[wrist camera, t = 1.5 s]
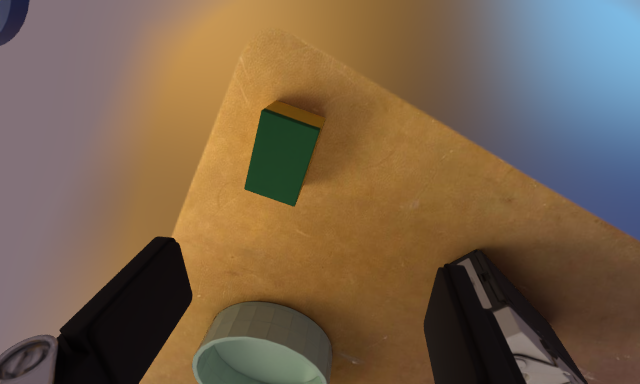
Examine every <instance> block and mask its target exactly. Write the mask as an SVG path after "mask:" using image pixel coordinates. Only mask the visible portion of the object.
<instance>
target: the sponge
mask: <svg viewBox="0 0 640 384" xmlns="http://www.w3.org/2000/svg"><path fill="white" fill-rule="evenodd" d="M324 122H325V118H324V117H321V116H318V115H316V114H313V113H310V112H307V111H304V110H302V109H299V108H296V107H293V106H291V105H288V104H285V103H282V102H279V101H277V100H276V101H274V102H273V103H272V104H270V105H269V106H267V107H266V108H265V109H263V110H262V111H261V116H260V120H259V125H258V129H257V134H256V138H255V143H254V147H253V152H252V156H251V161H250V165H249V170H248V175H247V179H246V184H245V188H244V189H245V190H248V191H251V192H253V193H256V194H259V195H262V196H265V197H268V198H271V199H274V200H276V201H279V202H282V203H285V204H288V205H291V206H295V204H296V202H297V199H298V197H299V195H300V192H301V190H302V187H303V184H304V181H305V178H306V175H307V172H308V170H309V167H310V164H311V161H312V158H313V155H314V152H315V149H316V146H317V143H318V140H319V137H320V134H321V131H322V128H323V125H324Z"/></svg>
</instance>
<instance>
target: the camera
mask: <svg viewBox="0 0 640 384" xmlns="http://www.w3.org/2000/svg"><path fill="white" fill-rule="evenodd" d="M451 264H455V265H463V266H465V268H466V270H467V272H468V275H469V277H470V279H471V282H472V284H473V286H474V288H475V291H476V293H477V295H478V297H479V300H480V302H481V304H482V306H483V308H486V309H490V310H491V311H492V312H493V314H494V315H495V317H496V319H497V322H498V324H499V326H500V328H501V330H502V332H503V334H504V336H505V339H506V341H507V343H508V345H509V347H510V349H511V351H512V353H513V356H514V358H515V360H516V362H517V364H518V366H519V368H520V370H521V373H522V375H523V377H524V379H525V381H526V383H527V384H588V383H587V381H586V380H585V379H584V377H583V375H582V374H581V372H580V371H579V369H578V368H577V366H576V365H575V363H574V361H573V360H572V358H571V357H570V355H569V354H568V352H567V351H566V349H565V347H564V346H563V344H562V343H561V341H560V340H559V338H558V337H557V335H556V333H555V332H554V330H553V329H552V327H551V326H550V325H549V324H548V322H547V321H546V320H545V319H544V318H543V317H542V316H541V315H540V314H539V313H538V312H537V311H536V309H535V308H534V307H533V306H532V305H531V304H530V303H529V302H528V301H527V300H526V299H525V298H524V296H523V295H522V294H521V293H520V292H519V291H518V290H517V289H516V288H515V287H514V285H513V284H512V283H511V282H510V281H509V280H508V279H507V278H506V277H505V276H504V275H503V274H502V273H501V271H500V270H499V269H498V268H497V267H496V266H495V265H494V264H493V263H492V262H491V261H490V260H489V259H488V257H487V256H486V255H485V254H484V253H483V252H482V251H481V250H479V251H478V250H474V251H472V252H471V253H469V254H467V255H465V256H463V257H461V258H460V259H458V260H456V261H454V262H453V263H451Z"/></svg>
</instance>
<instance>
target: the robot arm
mask: <svg viewBox="0 0 640 384" xmlns="http://www.w3.org/2000/svg"><path fill="white" fill-rule="evenodd" d="M191 301H192V290H191V287H190V283H189V279H188V275H187V271H186V267H185V264H184V260H183V256H182V252H181V248H180V245H179V243H178V242H176V240H175V239H174V238H169V237H155V238H154V239H153V240H152V241H151V242H150V243H149V244H148V245H147V246H146V247H145V248H144V249H143V250H142V251H140V252H139V253H138V254H137V255H136V257H134V258H133V259H132V260H131V261H130V262H129V263H128V264H127V265H126V266H125V267H124V268H123V269H122V270H121V271H120V272H119V273H118V274H117V275H116V276H115V277H114V278H113V279H112V280H110V282H108V283H107V285H106V286H104V287H103V288H102V289H101V290H100V291H99V292H98V293H97V294H96V295H95V296H94V297H93V298H92V299H91V300H90V301H89V302H88V303H87V304H86V305H85V306H84V307H83V308H82V309H81V310H80V311H79V312H77V313H76V314H75V315H74V316H73V317H72V318H71V319H70V320H69V321H68V322H67V323H66V324H65V325H64V326H63V327H62V328H61V329H60V332H61V334H60V335H59V337H57V338H55V337H53V336H51V335H38V336H34V337H31V338H28V339H25V340H23V341H21V342H19V343H17V344H16V345H14V346H12V347H10V348H9V349H7V350H6V351H5V352H4V353H2V354H1V355H0V384H139V382H140V381H141V379H142V378H143V376H144V375H145V373H146V371H147V370H148V368H149V367H150V365H151V364H152V362H153V361H154V359H155V358H156V356H157V354H158V353H159V351H160V350H161V348H162V347H163V345H164V344H165V342H166V340H167V339H168V337H169V336H170V334H171V333H172V331H173V330H174V328H175V327H176V325H177V323H178V322H179V320H180V319H181V317H182V316H183V314H184V313H185V311H186V310H187V308H188V306H189V305H190V303H191ZM424 333H425V337H426V342H427V347H428V352H429V357H430V362H431V366H432V371H433V376H434V381H435V384H527V383H526V381H525V379H524V377H523V375H522V373H521V370H520V368H519V366H518V364H517V362H516V360H515V358H514V356H513V353H512V351H511V349H510V347H509V345H508V343H507V341H506V339H505V336H504V334H503V332H502V330H501V328H500V326H499V324H498V322H497V319H496V317H495V315H494V314H493V312H492V311H491V310H490V309H486V308H483V306H482V304H481V302H480V300H479V297H478V295H477V293H476V291H475V288H474V286H473V284H472V282H471V279H470V277H469V275H468V272H467V270H466V268H465V266H463V265H455V264H445V265H444V267H443V268H441V267H439V268H438V270H437V274H436V278H435V282H434V285H433V289H432V293H431V297H430V301H429V304H428V308H427V312H426V316H425V320H424Z"/></svg>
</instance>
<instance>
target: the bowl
mask: <svg viewBox="0 0 640 384" xmlns="http://www.w3.org/2000/svg"><path fill="white" fill-rule="evenodd" d="M331 364H332V347H331V344H330V341H329V339H328V337H327V335H326V334H325V332H324V331H323V330H322V329H321V328H320V327H319V326H318V325H317V324H316V323H315V322H314V321H312V320H311V319H310V318H308V317H307V316H305V315H303V314H302V313H300V312H298V311H296V310H293V309H291V308H288V307H285V306H282V305H278V304H274V303H269V302H243V303H239V304H235V305H232V306H230V307H228V308H226V309H224V310H223V311H221V312H220V313H219V314H218V315H217V316H216V317H215V319H214V320H213V322H212V324H211V325H210V327H209V329H208V330H207V332H206V334H205V336H204V338H203V340H202V342H201V344H200V346H199V347H198V349H197V351H196V353H195V355H194V358H193V363H192V368H193V372H194V376H195V378H196V380H197V381H198V383H199V384H330V375H331Z"/></svg>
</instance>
